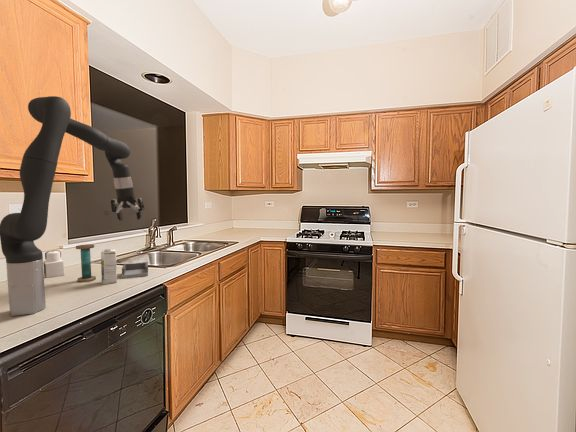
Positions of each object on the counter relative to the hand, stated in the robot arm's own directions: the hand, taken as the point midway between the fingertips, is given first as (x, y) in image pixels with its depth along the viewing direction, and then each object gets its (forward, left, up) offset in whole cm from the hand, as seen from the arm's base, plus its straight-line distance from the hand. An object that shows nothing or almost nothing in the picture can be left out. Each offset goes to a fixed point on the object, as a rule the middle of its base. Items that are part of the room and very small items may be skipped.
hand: (130, 219), depth 144 cm
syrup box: (-10, +9, -27) cm, 30 cm away
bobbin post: (-2, +19, -27) cm, 33 cm away
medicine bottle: (+14, +35, -27) cm, 46 cm away
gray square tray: (-1, -1, -27) cm, 27 cm away
